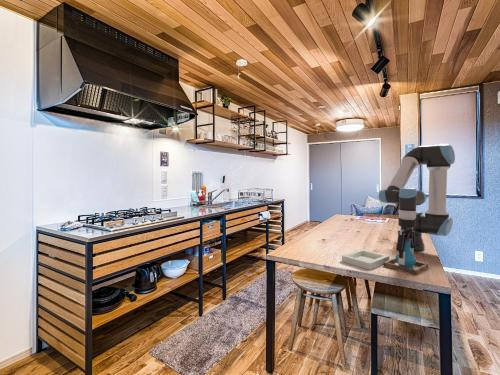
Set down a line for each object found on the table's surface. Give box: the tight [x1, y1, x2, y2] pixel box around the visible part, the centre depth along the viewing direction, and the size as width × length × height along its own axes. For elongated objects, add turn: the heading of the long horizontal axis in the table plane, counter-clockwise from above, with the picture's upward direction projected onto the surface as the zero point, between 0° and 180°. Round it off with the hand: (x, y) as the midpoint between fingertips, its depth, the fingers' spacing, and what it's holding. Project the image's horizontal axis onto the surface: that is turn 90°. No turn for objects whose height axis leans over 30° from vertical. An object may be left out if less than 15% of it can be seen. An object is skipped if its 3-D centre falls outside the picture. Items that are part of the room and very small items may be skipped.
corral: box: [383, 256, 429, 276], centre depth 133 cm, size 15×15×2 cm
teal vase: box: [395, 238, 418, 270], centre depth 133 cm, size 9×9×15 cm
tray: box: [341, 248, 391, 271], centre depth 142 cm, size 20×16×3 cm
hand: (405, 262), depth 133 cm, fingers closed on teal vase, 9 cm apart
